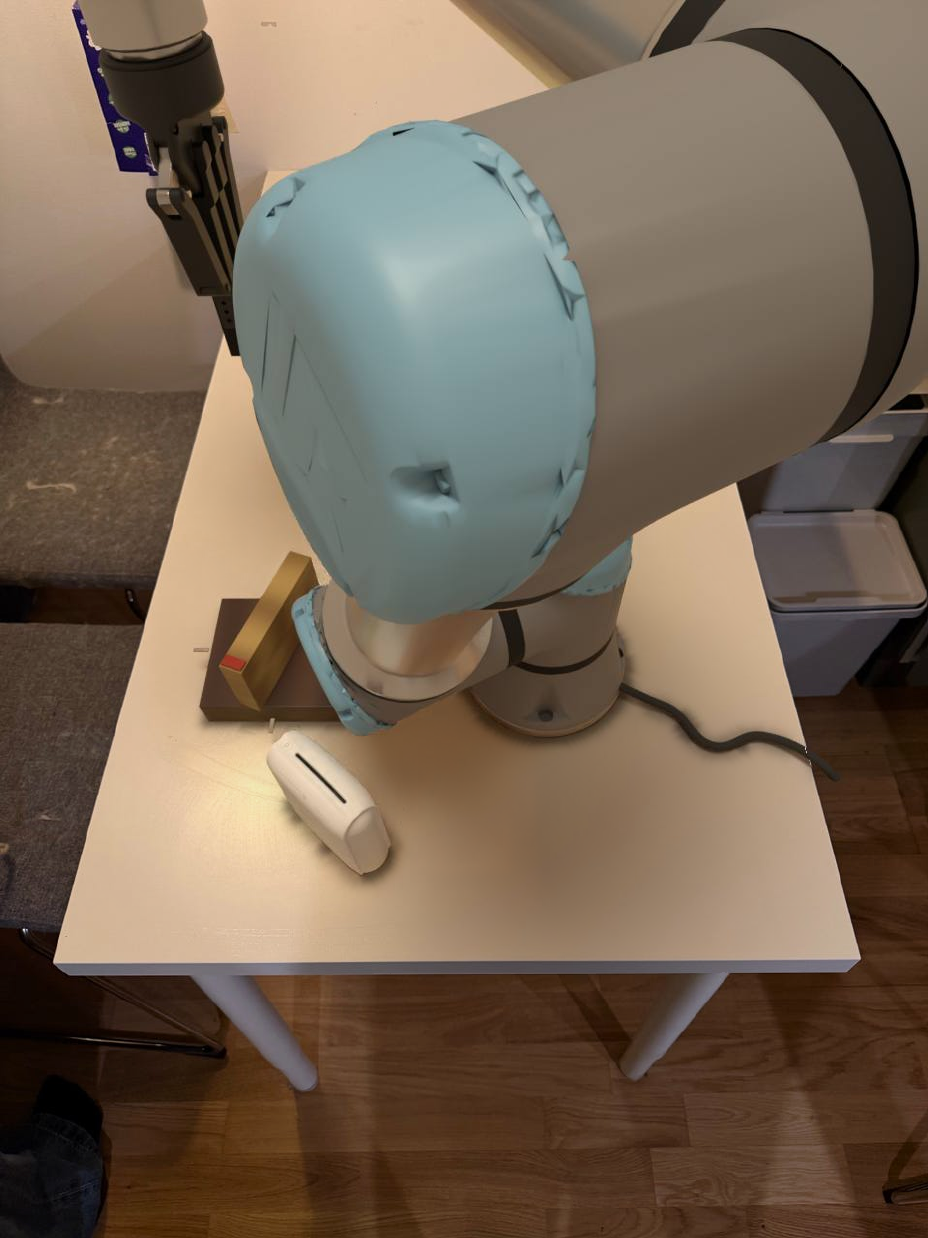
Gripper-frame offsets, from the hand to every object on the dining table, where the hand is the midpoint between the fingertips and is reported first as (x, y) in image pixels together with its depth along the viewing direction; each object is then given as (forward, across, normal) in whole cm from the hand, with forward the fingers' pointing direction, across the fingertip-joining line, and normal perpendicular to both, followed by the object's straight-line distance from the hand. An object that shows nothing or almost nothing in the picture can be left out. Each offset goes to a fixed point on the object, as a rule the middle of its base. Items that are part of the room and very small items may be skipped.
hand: (248, 350), depth 73 cm
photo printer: (+26, +32, +9) cm, 42 cm away
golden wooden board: (+21, +17, +2) cm, 27 cm away
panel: (+24, +17, +2) cm, 29 cm away
